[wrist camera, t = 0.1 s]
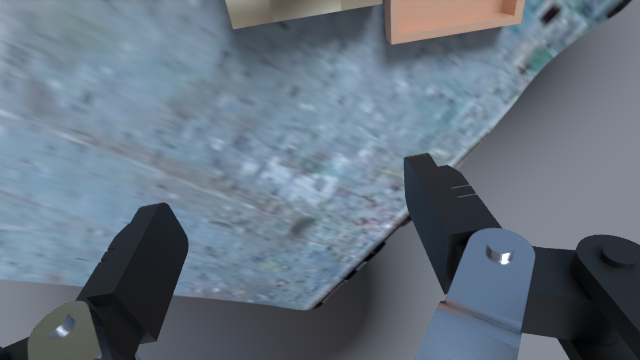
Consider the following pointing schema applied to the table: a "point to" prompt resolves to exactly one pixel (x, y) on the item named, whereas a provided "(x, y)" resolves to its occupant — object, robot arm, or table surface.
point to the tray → (446, 17)
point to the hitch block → (285, 9)
